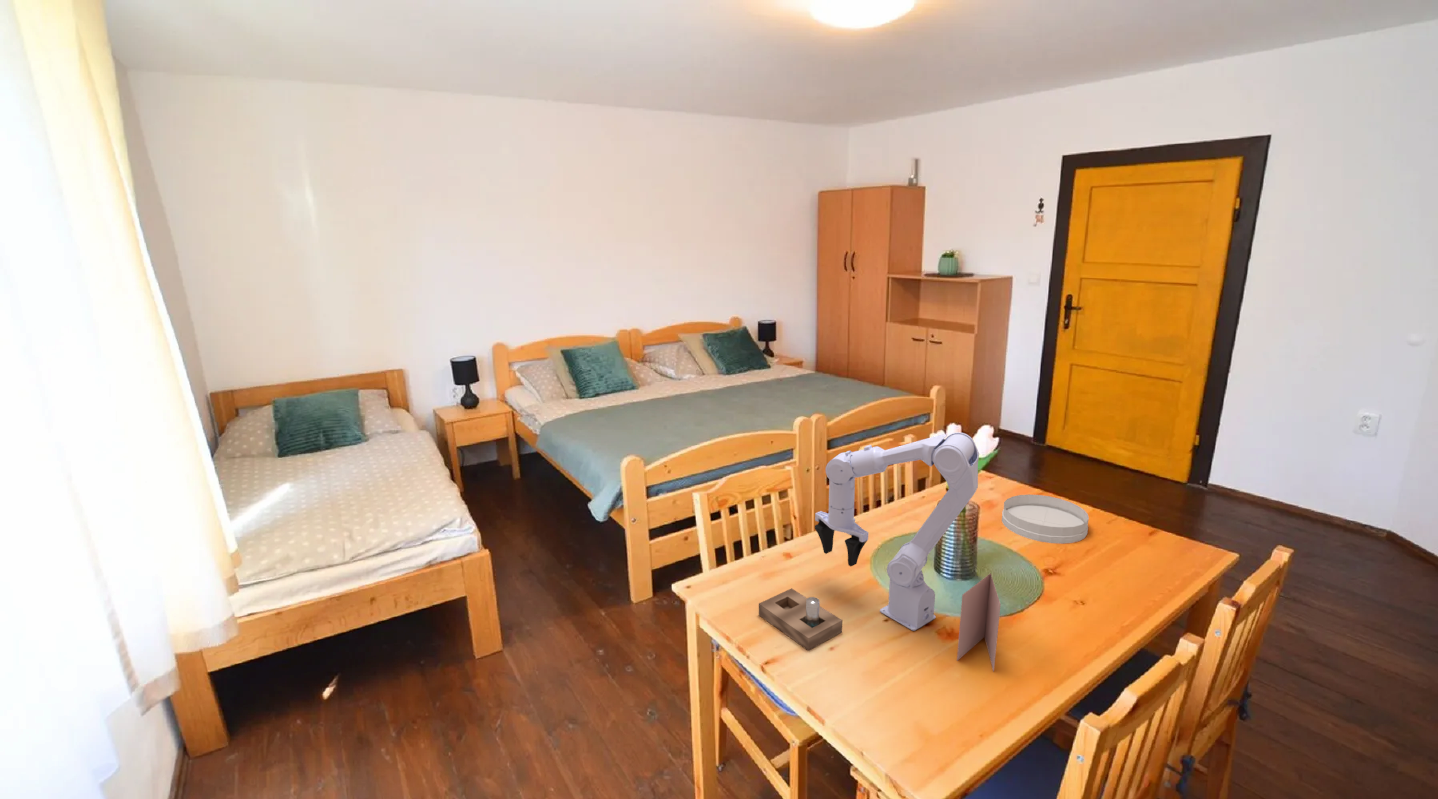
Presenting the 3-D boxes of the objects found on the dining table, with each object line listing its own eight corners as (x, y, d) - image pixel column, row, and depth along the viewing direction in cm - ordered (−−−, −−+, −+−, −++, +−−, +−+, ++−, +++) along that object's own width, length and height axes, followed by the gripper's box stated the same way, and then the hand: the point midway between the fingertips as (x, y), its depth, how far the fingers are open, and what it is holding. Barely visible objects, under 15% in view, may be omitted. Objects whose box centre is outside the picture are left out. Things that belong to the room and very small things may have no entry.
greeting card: (980, 634, 136) (986, 571, 132) (1015, 650, 131) (1022, 585, 127) (952, 658, 129) (958, 592, 125) (988, 677, 124) (995, 608, 120)
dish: (1090, 519, 187) (1092, 503, 186) (1084, 552, 169) (1086, 534, 168) (1008, 503, 199) (1009, 488, 198) (994, 532, 181) (996, 516, 180)
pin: (819, 626, 139) (820, 598, 137) (817, 634, 137) (818, 605, 135) (807, 624, 140) (807, 596, 138) (804, 631, 138) (805, 603, 136)
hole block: (841, 632, 138) (842, 620, 138) (808, 650, 133) (808, 638, 132) (791, 599, 151) (791, 588, 150) (758, 615, 145) (758, 603, 144)
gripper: (878, 510, 143) (875, 564, 147) (829, 490, 155) (828, 541, 158) (857, 519, 139) (855, 575, 143) (809, 498, 150) (808, 550, 154)
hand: (840, 558), depth 150 cm, fingers open, 7 cm apart
